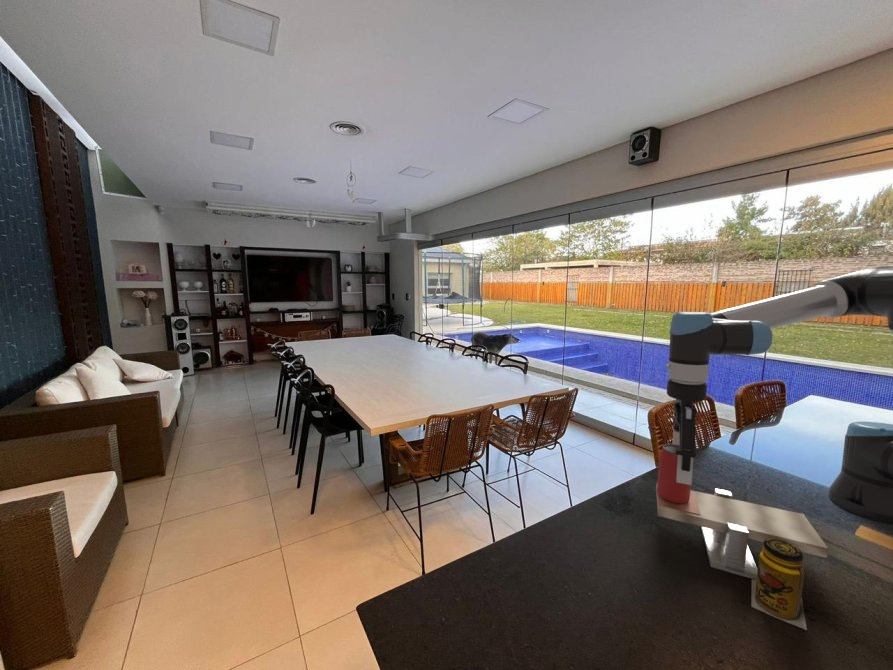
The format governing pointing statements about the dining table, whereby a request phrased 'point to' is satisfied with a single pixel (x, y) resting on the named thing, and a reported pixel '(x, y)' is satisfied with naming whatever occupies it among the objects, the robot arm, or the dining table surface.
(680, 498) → the beer can
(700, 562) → the dining table surface
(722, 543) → the pivot stand
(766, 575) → the condiment
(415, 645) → the dining table surface
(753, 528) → the balance beam
